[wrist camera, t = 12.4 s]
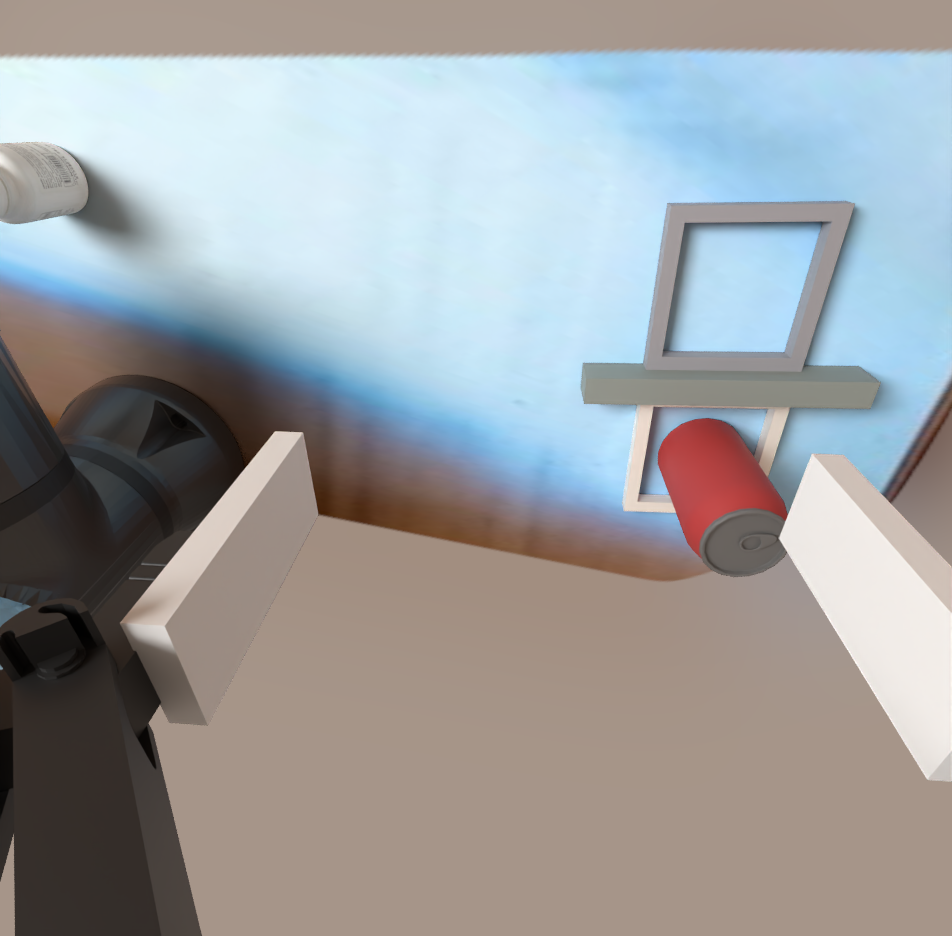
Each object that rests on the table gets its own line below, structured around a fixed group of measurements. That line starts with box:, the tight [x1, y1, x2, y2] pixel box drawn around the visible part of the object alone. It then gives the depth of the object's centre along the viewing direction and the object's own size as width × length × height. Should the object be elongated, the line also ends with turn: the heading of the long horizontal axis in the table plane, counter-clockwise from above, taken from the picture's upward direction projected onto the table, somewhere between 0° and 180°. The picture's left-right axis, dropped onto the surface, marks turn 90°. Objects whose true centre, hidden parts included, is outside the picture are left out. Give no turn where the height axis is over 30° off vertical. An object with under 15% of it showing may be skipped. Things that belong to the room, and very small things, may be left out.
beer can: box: [658, 418, 788, 577], centre depth 40 cm, size 7×7×12 cm
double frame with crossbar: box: [581, 201, 881, 513], centre depth 40 cm, size 20×24×3 cm
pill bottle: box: [0, 142, 88, 224], centre depth 34 cm, size 4×4×8 cm
